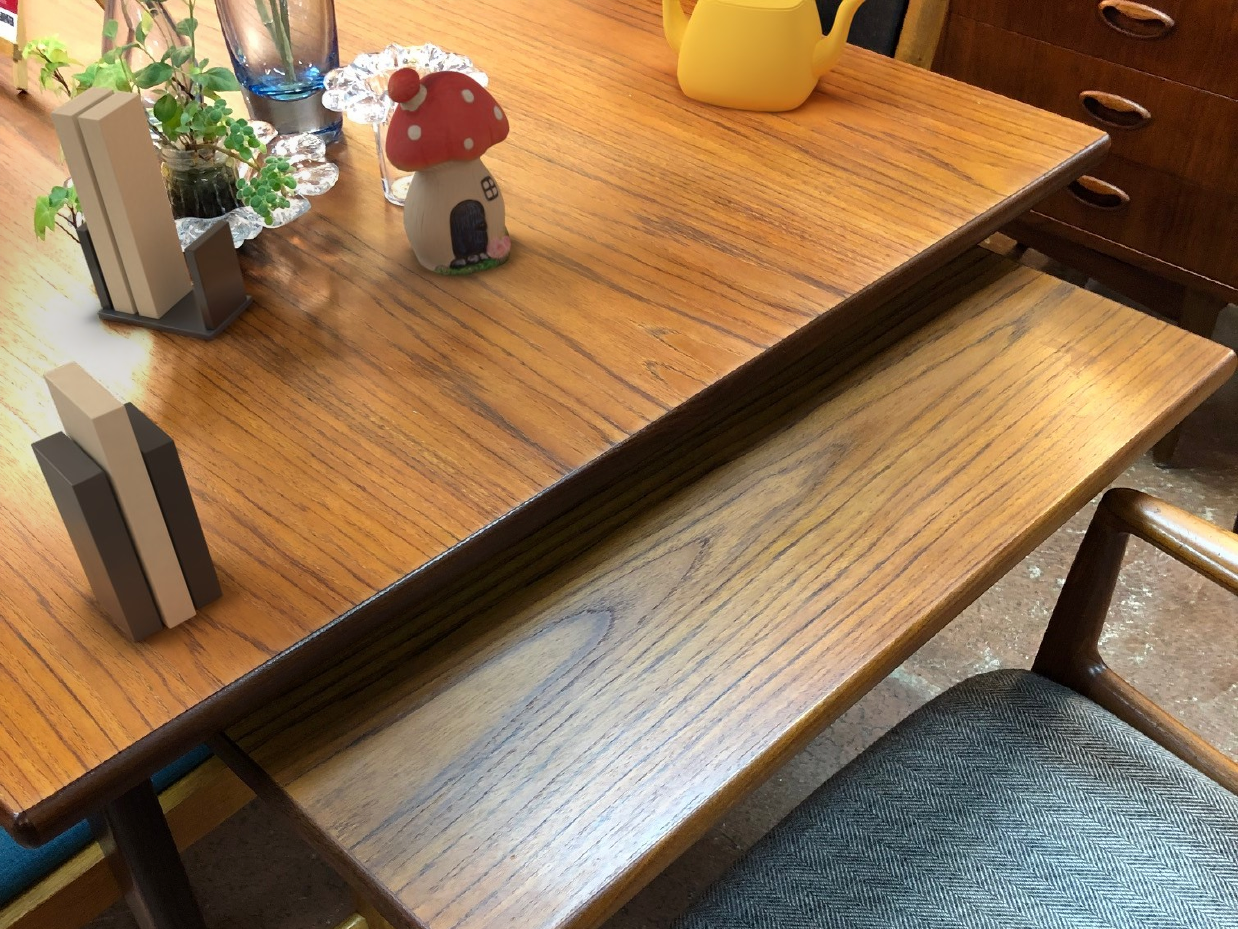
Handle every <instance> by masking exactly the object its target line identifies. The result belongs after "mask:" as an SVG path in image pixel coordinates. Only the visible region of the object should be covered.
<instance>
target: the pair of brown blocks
mask: <svg viewBox="0 0 1238 929" xmlns="http://www.w3.org/2000/svg"><path fill="white" fill-rule="evenodd" d="M122 404H123V405H124V406H125V409H126V412H127V415H128V418H129V421H130V423H131V426H132V429H133V432H134V435H135V438H136V441H137V444H138V447H139V449H140V452H141V455H142V458H143V461H144V464H145V467H146V470H147V473H148V476H149V478H150V481H151V484H152V487H153V490H154V493H155V496H156V499H157V502H158V505H159V507H160V510H161V513H162V516H163V519H164V522H165V525H166V528H167V531H168V534H169V536H170V539H171V542H172V545H173V548H174V551H175V554H176V557H177V560H178V562H179V565H180V568H181V571H182V574H183V577H184V580H185V583H186V586H187V589H188V591H189V594H190V597H191V600H192V603H193V606H194V609H195V610H199V609H201V608H203V607H205V606H207V605H209V604H210V603H212V602H214V601H217V600H218V599H220V598H221V597H223V596H224V594H223V591H222V588H221V585H220V582H219V577H218V575H217V572H216V569H215V566H214V562H213V560H212V556H211V553H210V550H209V547H208V543H207V541H206V540H207V539H206V537H205V533H204V531H203V528H202V524H201V522H200V518H199V515H198V512H197V508H196V506H195V503H194V499H193V495H192V493H191V490H190V486H189V483H188V481H187V477H186V474H185V470H184V468H183V465H182V461H181V458H180V455H179V452H178V449H177V446H176V442H175V440H174V439H173V438H172V437H171V436H170V435H169V434H168V433H167V432H166V431H164V430H163V429H162V428H161V427H160V426H159V425H158V424H157V423H155V422H154V421H153V420H152V419H151V418H150V417H148V416H147V415H146V414H145V413H144V412H142V410H140V408H138V407H137V406H136V405H135V404H134V403H133V402H132V401H128V402H125V403H122ZM30 447H31V449H32V451H33V452H32V453H33V454H34V457H35V459H36V462H37V463H38V466H39V468H40V471H41V473H42V475H43V478H44V479H45V482H46V485H47V487H48V489H49V492H50V494H51V496H52V498H53V501H54V503H55V505H56V508H57V510H58V513H59V515H60V518H61V519H62V522H63V524H64V527H65V529H66V531H67V534H68V536H69V539H70V541H71V542H72V546H73V548H74V550H75V553H76V555H77V558H78V560H79V562H80V565H81V567H82V569H83V572H84V574H85V576H86V579H87V581H88V584H89V586H90V589H91V590H92V593H93V595H94V597H95V600H96V602H97V603H98V604H99V605H100V606H101V607H102V608H103V609H104V611H106V613H108V615H109V616H110V617H111V618H112V619H113V620H114V621H115V623H117V624H118V626H119V627H120V628H121V629H122V630H123V632H125V633H126V635H127V636H128V637H129V638H130V639H131V640H132V641H133V642H134V643H138V642H140V641H142V640H144V639H145V638H147V637H149V636H151V635H153V634H155V633H156V632H158V631H160V630H162V629H163V627H164V626H163V624H162V620H161V619H160V618H159V616H158V613H157V611H156V608H155V605H154V603H153V600H152V597H151V595H150V592H149V589H148V587H147V584H146V582H145V579H144V576H143V574H142V571H141V568H140V566H139V563H138V560H137V558H136V555H135V552H134V550H133V547H132V544H131V542H130V539H129V536H128V534H127V531H126V529H125V526H124V523H123V521H122V518H121V515H120V513H119V510H118V507H117V505H116V502H115V499H114V497H113V494H112V491H111V489H110V486H109V484H108V481H107V478H106V476H105V473H104V471H103V470H102V469H101V468H100V467H99V466H98V465H97V464H96V463H94V462H93V461H92V460H91V459H90V458H89V457H88V456H87V455H86V454H85V453H84V452H83V451H82V450H81V449H80V448H79V447H78V446H77V445H76V444H75V443H74V442H73V441H72V440H71V439H70V438H68V437H67V434H66V433H64V431H63V430H60V431H58V432H55V433H53V434H50V435H47V436H46V437H43V438H42V439H39V440H37V441H34V442H31V443H30Z"/></svg>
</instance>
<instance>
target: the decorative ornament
mask: <svg viewBox="0 0 1238 929" xmlns="http://www.w3.org/2000/svg"><path fill="white" fill-rule="evenodd" d="M387 95H388V97H389V98H390V99H391V100H392V102H394V103H397V105H396V106H395V109H394V111H393V114H392V117H391V119H390V122H389V125H388V128H387V132H386V137H385V144H384V145H385V146H384V147H385V148H384V150H385V155H386V158H387V160H388V162H389V163H390V165H392V166H393V168H395V169H396V170H398V171H402V172H406V173H414V174H413V176H412V179H411V182H410V185H409V186H408V188H407V189H408V190H407V192H406V197H405V200H404V206H403V216H402V217H403V218H402V220H403V227H404V231H405V235H406V237H407V239H408V241H409V243H410V245H411V247H412V250H413V252H414V254H415V256H416V258H417V261H418V263H419V264H420V265H421V266H422V267H423V268H424V269H427V270H429V271H432V272H434V273H436V274H439V275H444V276H466V275H472V274H476V273H479V272H485V271H487V270H490V269H494V268H497V267H499V266H501V265H503V264H504V263H505V262H507V261H508V260H509V257H510V254H511V247H512V244H511V237H510V234H509V230H508V228H507V225H506V206H505V201H504V197H503V193H502V191H501V188H500V186H499V184H498V182H497V180H496V179H495V177H494V175H493V174H492V173H491V172H490V170H489V168H487V166H486V165H485V164H484V162H483V161H482V159H481V157H482V156H483V155H484V154H486V152H487V151H488V149H490V148H492V147H493V146H496V145H497V144H501V143H502V142H504V141H505V140H506V139H507V137H508V135H509V133H510V127H511V126H510V123H509V119H508V117H507V115H506V113H505V111H504V109H503V107H502V106H501V105H500V103H499V102H498V101H497V100H496V99H495V97H494V96H493V95H492V94H491V93H490V92H489V91H488V90H487V89H486V88H485V87H483V85H482V84H481V83H479V82H478V81H477V80H476V79H474V78H473V77H471V76H469V75H468V74H466V73H464V72H460V71H454V70H440V71H436V72H430V73H427V74H425V75H423V76H422V77H421V78H420V74H419V73H418V72H417V71H416V70H415V69H413V68H411V67H402V68H400V69H398V70H396V71H395V72H393V73H392V74H391V75H390V77H389V79H388V82H387Z"/></svg>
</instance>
